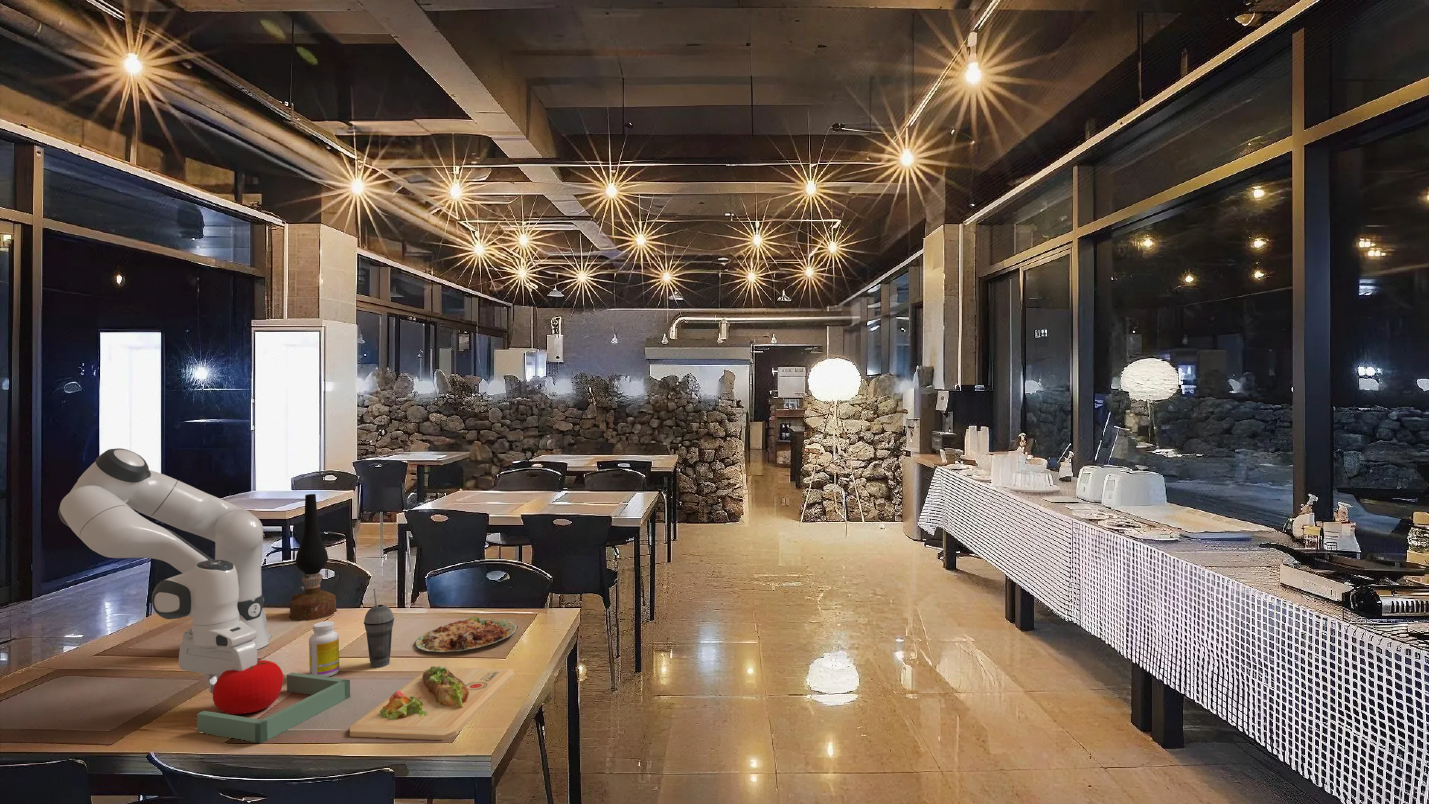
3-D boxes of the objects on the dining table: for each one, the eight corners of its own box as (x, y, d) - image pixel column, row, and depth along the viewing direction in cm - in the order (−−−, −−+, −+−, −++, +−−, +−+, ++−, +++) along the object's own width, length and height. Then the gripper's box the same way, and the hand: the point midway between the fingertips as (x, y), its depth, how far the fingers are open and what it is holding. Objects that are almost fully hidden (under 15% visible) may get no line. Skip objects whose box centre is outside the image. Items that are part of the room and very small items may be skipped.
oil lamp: (344, 620, 235) (370, 500, 239) (303, 626, 221) (332, 499, 225) (314, 611, 240) (340, 494, 244) (273, 616, 226) (301, 492, 230)
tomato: (254, 723, 153) (253, 675, 153) (198, 722, 154) (197, 674, 154) (297, 695, 167) (296, 651, 167) (246, 694, 168) (245, 651, 168)
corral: (197, 732, 149) (197, 713, 149) (292, 688, 171) (292, 672, 171) (260, 743, 144) (260, 723, 144) (350, 696, 166) (349, 679, 166)
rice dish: (393, 654, 197) (392, 635, 197) (461, 620, 223) (460, 603, 223) (475, 666, 187) (474, 646, 187) (536, 629, 213) (535, 611, 213)
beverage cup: (383, 670, 182) (381, 592, 181) (358, 668, 183) (356, 591, 183) (401, 660, 189) (399, 585, 189) (377, 658, 190) (375, 584, 190)
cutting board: (450, 743, 144) (450, 706, 144) (343, 739, 146) (342, 703, 146) (518, 675, 178) (517, 645, 178) (430, 673, 181) (429, 643, 181)
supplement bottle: (345, 670, 182) (344, 621, 182) (323, 680, 176) (322, 629, 176) (325, 667, 184) (324, 618, 184) (303, 677, 178) (302, 626, 178)
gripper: (169, 632, 162) (170, 692, 162) (236, 640, 156) (237, 703, 156) (197, 623, 168) (198, 681, 168) (262, 631, 162) (263, 691, 162)
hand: (217, 692), depth 162 cm, fingers closed
